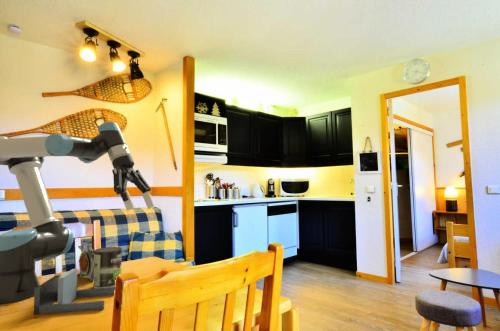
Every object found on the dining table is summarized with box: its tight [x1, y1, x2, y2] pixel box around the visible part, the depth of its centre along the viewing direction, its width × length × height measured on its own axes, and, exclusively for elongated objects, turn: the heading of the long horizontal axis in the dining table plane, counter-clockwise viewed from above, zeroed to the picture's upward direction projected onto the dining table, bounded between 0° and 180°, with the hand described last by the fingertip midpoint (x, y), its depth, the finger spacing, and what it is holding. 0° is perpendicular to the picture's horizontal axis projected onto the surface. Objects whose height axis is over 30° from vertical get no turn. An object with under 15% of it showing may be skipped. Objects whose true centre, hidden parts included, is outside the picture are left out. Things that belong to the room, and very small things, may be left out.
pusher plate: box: [57, 268, 78, 304], centre depth 99 cm, size 2×11×10 cm, turn 10°
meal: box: [77, 245, 94, 283], centre depth 128 cm, size 15×4×13 cm, turn 52°
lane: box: [33, 274, 116, 316], centre depth 100 cm, size 20×14×8 cm
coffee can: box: [92, 246, 123, 289], centre depth 119 cm, size 10×10×14 cm
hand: (141, 208), depth 111 cm, fingers open, 13 cm apart
